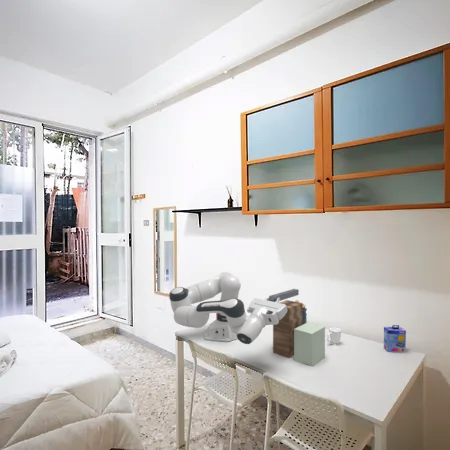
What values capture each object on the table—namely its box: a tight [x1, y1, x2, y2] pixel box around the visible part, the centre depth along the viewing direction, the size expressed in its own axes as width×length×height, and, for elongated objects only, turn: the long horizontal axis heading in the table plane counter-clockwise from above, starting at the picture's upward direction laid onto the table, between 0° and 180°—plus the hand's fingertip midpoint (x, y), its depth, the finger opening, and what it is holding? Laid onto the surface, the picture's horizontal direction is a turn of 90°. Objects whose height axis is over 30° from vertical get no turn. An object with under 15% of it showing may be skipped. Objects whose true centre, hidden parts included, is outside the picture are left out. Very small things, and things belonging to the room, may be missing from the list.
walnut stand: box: [272, 299, 304, 359], centre depth 165 cm, size 14×10×26 cm
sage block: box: [293, 322, 326, 367], centre depth 156 cm, size 14×10×16 cm
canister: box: [294, 299, 308, 324], centre depth 206 cm, size 13×13×18 cm
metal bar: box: [268, 288, 300, 302], centre depth 162 cm, size 24×3×3 cm, turn 136°
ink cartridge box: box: [383, 324, 407, 353], centre depth 166 cm, size 10×6×14 cm, turn 87°
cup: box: [326, 327, 343, 346], centre depth 175 cm, size 7×10×8 cm
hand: (275, 297), depth 156 cm, fingers closed on metal bar, 3 cm apart
